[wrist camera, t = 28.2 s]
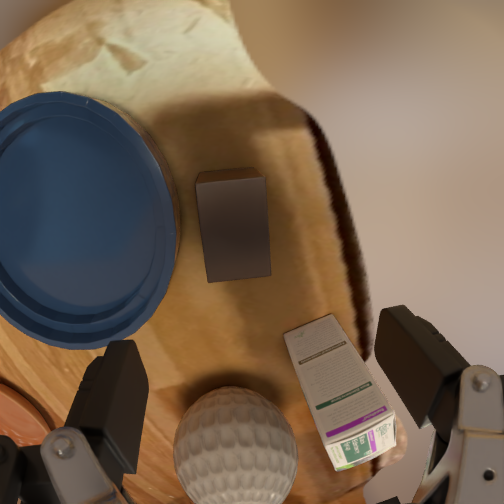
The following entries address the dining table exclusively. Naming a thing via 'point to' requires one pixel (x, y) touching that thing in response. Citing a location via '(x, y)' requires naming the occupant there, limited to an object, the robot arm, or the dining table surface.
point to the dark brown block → (234, 224)
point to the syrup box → (341, 393)
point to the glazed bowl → (82, 221)
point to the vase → (235, 449)
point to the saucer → (20, 419)
